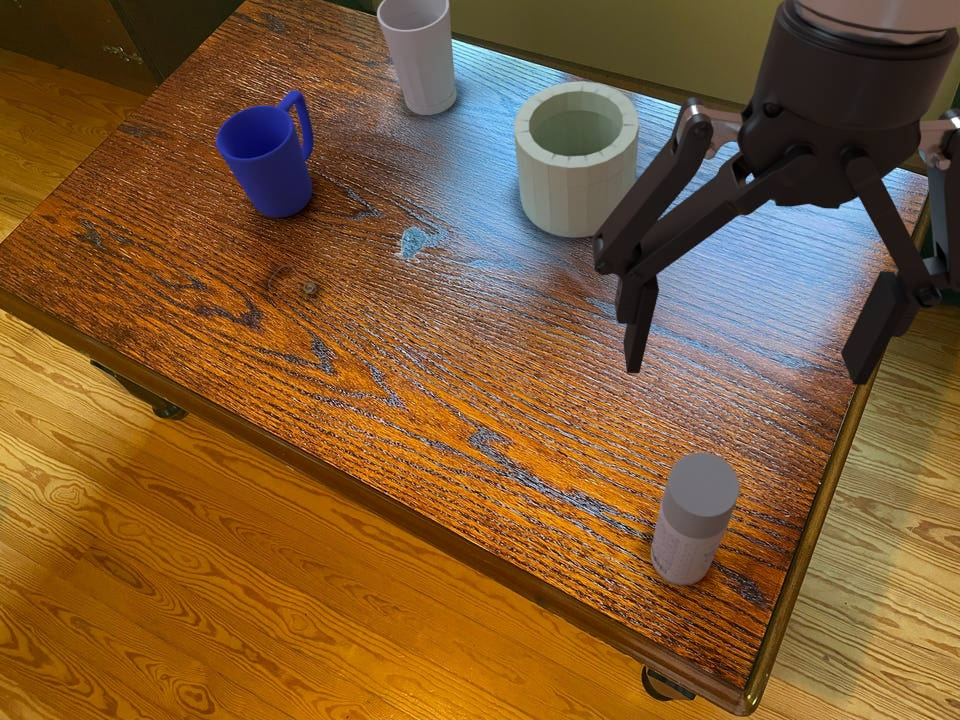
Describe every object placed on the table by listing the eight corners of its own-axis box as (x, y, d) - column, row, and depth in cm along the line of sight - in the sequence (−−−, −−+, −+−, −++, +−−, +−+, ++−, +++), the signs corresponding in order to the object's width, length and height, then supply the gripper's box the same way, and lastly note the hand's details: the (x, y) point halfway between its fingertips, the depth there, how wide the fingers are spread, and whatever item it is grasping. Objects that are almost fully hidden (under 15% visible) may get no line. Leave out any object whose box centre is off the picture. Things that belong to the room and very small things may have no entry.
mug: (350, 159, 91) (326, 89, 83) (296, 235, 86) (265, 168, 78) (292, 144, 94) (263, 75, 86) (236, 216, 89) (199, 150, 80)
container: (706, 592, 61) (738, 525, 49) (646, 578, 62) (661, 510, 50) (713, 535, 64) (745, 457, 51) (655, 523, 65) (671, 444, 52)
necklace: (314, 295, 81) (311, 290, 81) (265, 292, 82) (262, 287, 81) (322, 271, 83) (320, 265, 82) (274, 267, 84) (272, 262, 83)
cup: (457, 120, 93) (441, 31, 83) (392, 119, 94) (369, 31, 84) (468, 75, 97) (454, -15, 87) (406, 74, 98) (385, -14, 88)
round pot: (654, 181, 84) (662, 107, 76) (592, 255, 80) (593, 185, 72) (562, 140, 89) (560, 67, 81) (499, 208, 85) (489, 137, 76)
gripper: (1120, -11, 36) (924, 332, 51) (574, -34, 36) (538, 313, 51) (1223, 60, 31) (970, 419, 45) (581, 32, 31) (539, 397, 46)
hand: (741, 363), depth 48 cm, fingers open, 13 cm apart
